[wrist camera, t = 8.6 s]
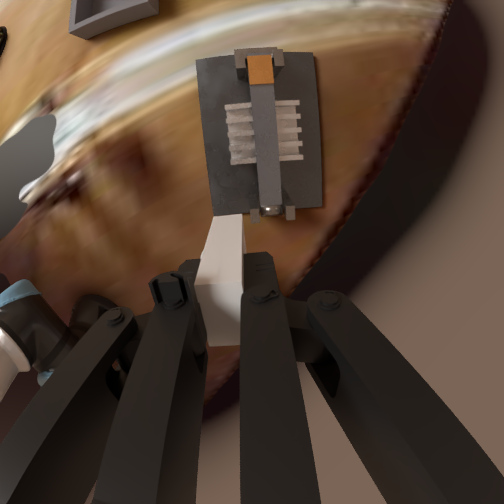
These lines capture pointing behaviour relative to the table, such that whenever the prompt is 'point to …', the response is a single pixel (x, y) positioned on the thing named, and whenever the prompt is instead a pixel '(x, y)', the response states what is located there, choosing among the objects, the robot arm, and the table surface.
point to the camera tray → (107, 15)
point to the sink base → (242, 132)
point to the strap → (265, 132)
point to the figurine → (2, 39)
